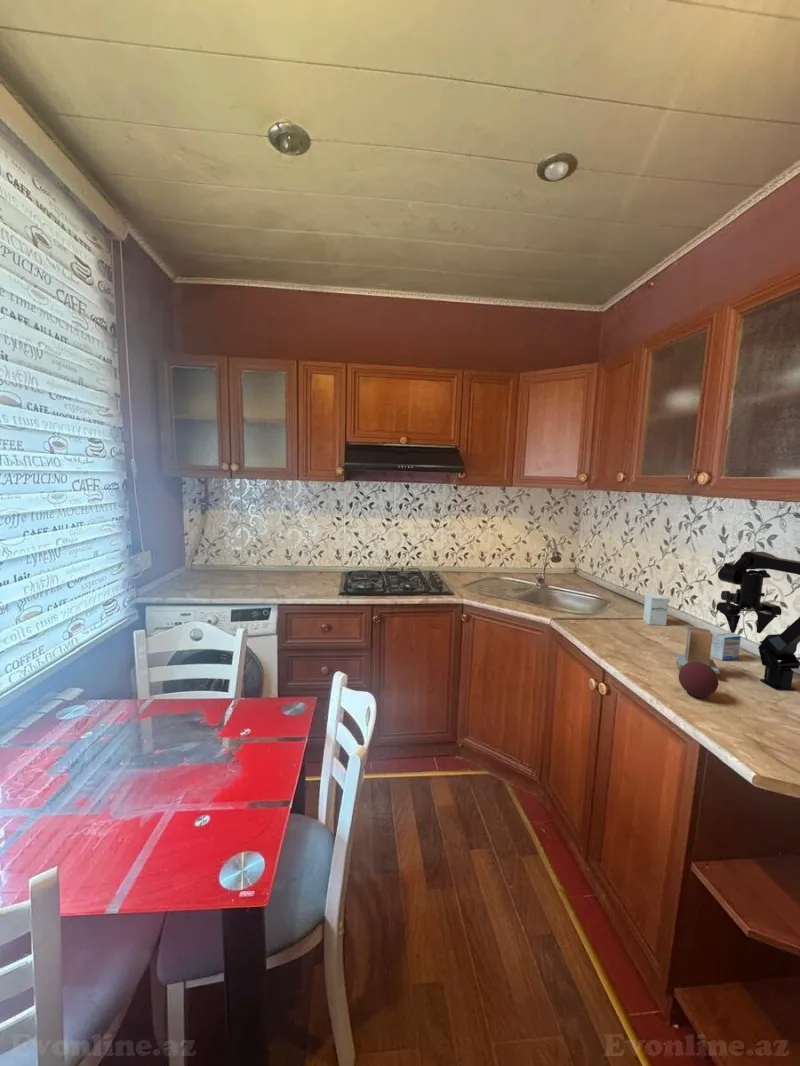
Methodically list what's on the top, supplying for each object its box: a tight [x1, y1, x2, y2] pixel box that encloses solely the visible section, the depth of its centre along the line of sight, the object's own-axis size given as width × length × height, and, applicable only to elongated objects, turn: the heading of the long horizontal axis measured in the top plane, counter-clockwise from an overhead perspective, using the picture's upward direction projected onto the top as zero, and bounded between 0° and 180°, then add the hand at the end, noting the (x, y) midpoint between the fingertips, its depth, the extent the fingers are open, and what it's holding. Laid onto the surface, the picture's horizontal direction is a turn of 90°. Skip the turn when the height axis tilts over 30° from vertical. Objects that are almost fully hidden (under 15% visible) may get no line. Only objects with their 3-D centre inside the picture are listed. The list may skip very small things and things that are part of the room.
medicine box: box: [710, 632, 741, 661], centre depth 163 cm, size 8×4×9 cm, turn 105°
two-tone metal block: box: [684, 626, 713, 666], centre depth 150 cm, size 6×6×11 cm
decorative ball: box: [678, 662, 719, 698], centre depth 134 cm, size 10×10×10 cm
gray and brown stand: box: [675, 653, 720, 675], centre depth 151 cm, size 11×11×3 cm
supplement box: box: [642, 593, 670, 626], centre depth 201 cm, size 7×7×13 cm
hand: (745, 632), depth 152 cm, fingers open, 9 cm apart
